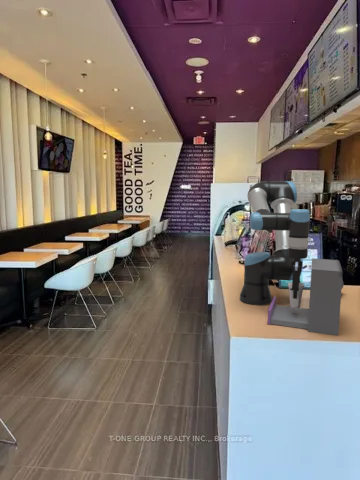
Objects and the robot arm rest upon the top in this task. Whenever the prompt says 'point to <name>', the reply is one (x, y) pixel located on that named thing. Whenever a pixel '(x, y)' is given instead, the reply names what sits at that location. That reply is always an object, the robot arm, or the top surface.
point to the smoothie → (299, 293)
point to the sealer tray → (287, 315)
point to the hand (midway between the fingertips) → (295, 303)
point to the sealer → (325, 296)
